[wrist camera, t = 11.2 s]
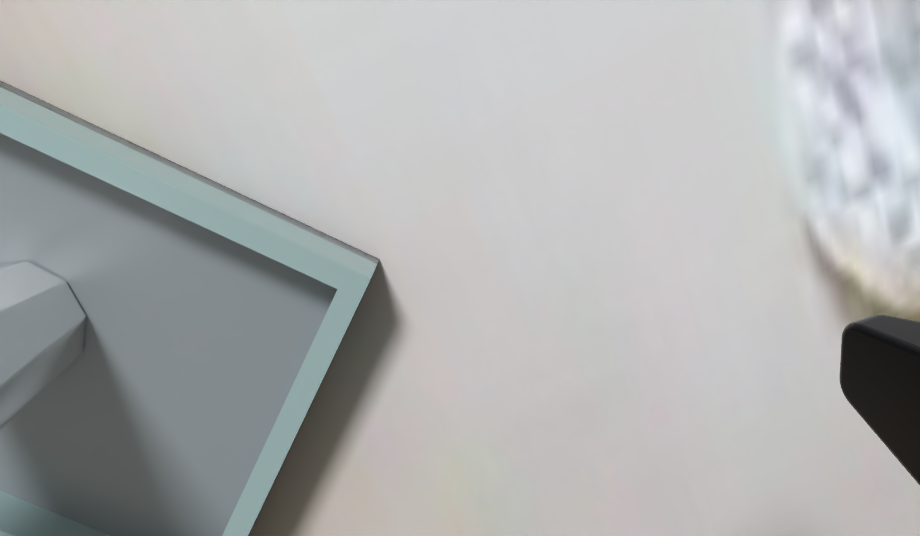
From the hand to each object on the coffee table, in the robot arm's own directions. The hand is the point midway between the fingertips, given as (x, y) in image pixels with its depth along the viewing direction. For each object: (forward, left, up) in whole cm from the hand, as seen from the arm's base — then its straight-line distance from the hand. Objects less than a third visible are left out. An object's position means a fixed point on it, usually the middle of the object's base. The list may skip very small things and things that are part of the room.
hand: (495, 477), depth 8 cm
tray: (+10, +7, -11) cm, 17 cm away
